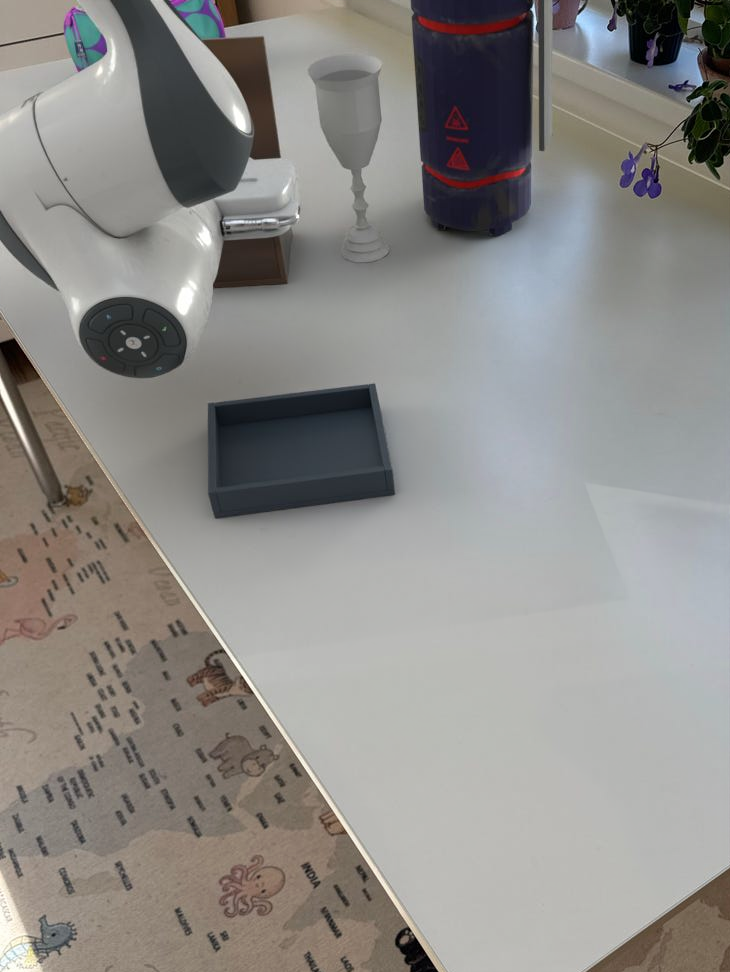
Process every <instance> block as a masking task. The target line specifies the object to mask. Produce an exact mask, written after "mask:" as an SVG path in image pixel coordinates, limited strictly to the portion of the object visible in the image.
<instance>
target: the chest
mask: <svg viewBox="0 0 730 972" xmlns="http://www.w3.org/2000/svg"><path fill="white" fill-rule="evenodd" d="M292 239H293V227H292V226H291V227H290V229H289V230H288V231H286V232H285V233H283V234H281V235H278V236H275V237H268V238H255V239H239V240H224V243H223V248H222V253H221V257H220V262H219V268H218V272H217V276H216V278H215V281H214V283H213V289H215V288H229V287H230V288H231V287H249V286H267V285H282V284H288V281H289V280H288V279H289V270H290V269H289V268H290V259H291V251H292V250H291V249H292Z"/></svg>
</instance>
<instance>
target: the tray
mask: <svg viewBox="0 0 730 972" xmlns="http://www.w3.org/2000/svg"><path fill="white" fill-rule="evenodd" d="M207 495H208V498H209V502H210V506H211V509H212V513H213V516H214V519H219V518H227V517H228V518H229V517H234V516H242V515H243V516H244V515H250V514H258V513H265V512H272V511H273V512H274V511H280V510H281V511H282V510H288V509H295V508H302V507H311V506H317V505H325V504H335V503H341V502H348V501H356V500H363V499H371V498H378V497H384V496H386V497H387V496H393V495H396V490H395V478H394V470H393V465H392V460H391V455H390V450H389V445H388V439H387V436H386V430H385V424H384V419H383V414H382V410H381V405H380V400H379V395H378V391H377V385H376V383H367V384H357V385H349V386H341V387H332V388H324V389H316V390H315V389H314V390H307V391H300V392H292V393H291V392H289V393H283V394H282V393H281V394H275V395H274V394H273V395H266V396H258V397H249V398H241V399H233V400H225V401H217V402H208V403H207Z"/></svg>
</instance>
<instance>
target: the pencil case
mask: <svg viewBox="0 0 730 972" xmlns="http://www.w3.org/2000/svg"><path fill="white" fill-rule="evenodd" d="M170 2H171V3H172V4H173V6H174V7H175V8H176V9H177V11H178V12H179V13H180V14H181V16H182V17H183V18H184V19H185V20H186V22H187V23H188V24H189V25H190V26H191V28H192V29H193V30H194V31H195V32H196V34H197V35H198V36H199V37H200V38H201V39H209V38H227V35H226V30H225V25H224V22H223V19H222V17H221V14H220V12H219V9H218V7H217V6H216V4H215V2H214V1H213V0H170ZM63 36H64V39H65V43H66V47H67V49H68V52H69V55H70V57H71V59H72V62H73V64H74V66H75V68H76V71H77V73H78V72H80V71H82V70H84V69H85V68H87V67H89V66H91V65H92V64H94V63H96V62H98V61H99V60H100V59H102V58H103V57H104V56H105V54H106V53H107V43H106V40H105V38H104V36H103V35H102V33H101V32H100V31H99V29H98V28H97V27H96V25H95V24H94V23H93V21H92V20H91V19H90V18H89V16H88V15H87V14H86V12H85V11H84V10H83V8H82V7H81V6H80V4H77V5H76V6H72V7H71V8H70V9H69V11H67V12H66V14H65V17H64V20H63Z"/></svg>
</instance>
